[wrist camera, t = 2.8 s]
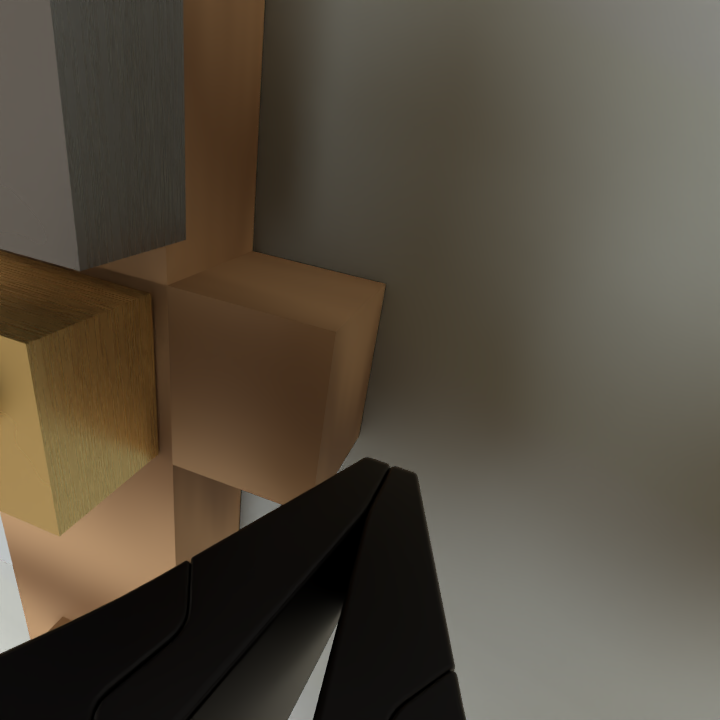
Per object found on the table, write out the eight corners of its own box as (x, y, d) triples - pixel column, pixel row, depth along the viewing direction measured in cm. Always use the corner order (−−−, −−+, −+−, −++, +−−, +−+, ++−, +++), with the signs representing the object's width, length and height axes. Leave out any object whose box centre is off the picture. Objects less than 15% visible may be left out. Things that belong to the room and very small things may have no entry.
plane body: (312, 700, 18) (237, 883, 13) (41, 576, 20) (-94, 696, 16) (472, -204, 7) (371, -695, 3) (-124, -215, 10) (-635, -483, 6)
